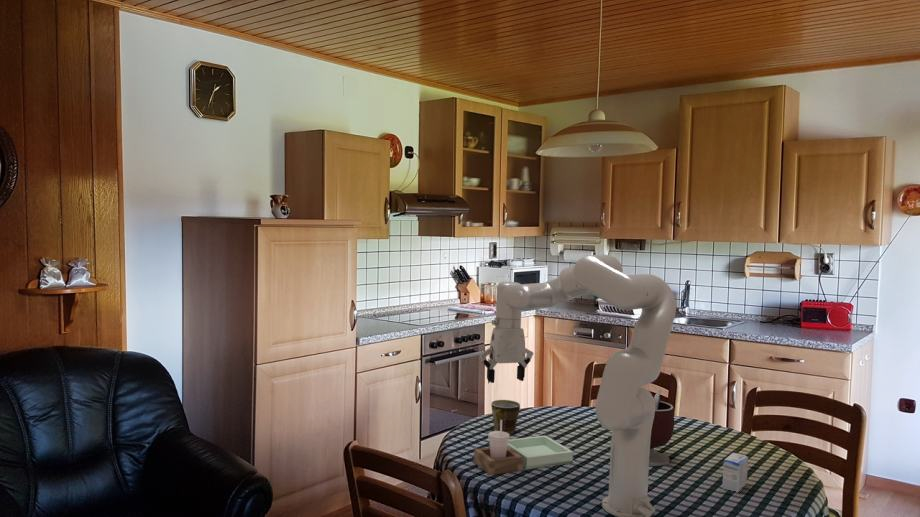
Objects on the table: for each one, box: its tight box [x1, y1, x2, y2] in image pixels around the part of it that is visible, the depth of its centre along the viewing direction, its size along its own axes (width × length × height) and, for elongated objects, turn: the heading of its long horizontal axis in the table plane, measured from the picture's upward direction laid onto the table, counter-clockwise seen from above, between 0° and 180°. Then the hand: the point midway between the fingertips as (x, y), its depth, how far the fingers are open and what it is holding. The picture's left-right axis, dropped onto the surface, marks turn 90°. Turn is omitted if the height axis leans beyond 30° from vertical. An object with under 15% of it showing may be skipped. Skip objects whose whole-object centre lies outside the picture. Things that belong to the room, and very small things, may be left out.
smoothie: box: [487, 420, 510, 459], centre depth 190 cm, size 6×6×14 cm
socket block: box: [473, 446, 523, 476], centre depth 191 cm, size 11×11×4 cm
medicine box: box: [721, 452, 749, 493], centre depth 181 cm, size 8×4×9 cm, turn 141°
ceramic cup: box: [490, 399, 521, 435], centre depth 222 cm, size 13×10×10 cm
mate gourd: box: [649, 389, 675, 467], centre depth 202 cm, size 16×14×20 cm
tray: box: [507, 435, 574, 470], centre depth 200 cm, size 16×16×4 cm
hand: (505, 380), depth 192 cm, fingers open, 9 cm apart
